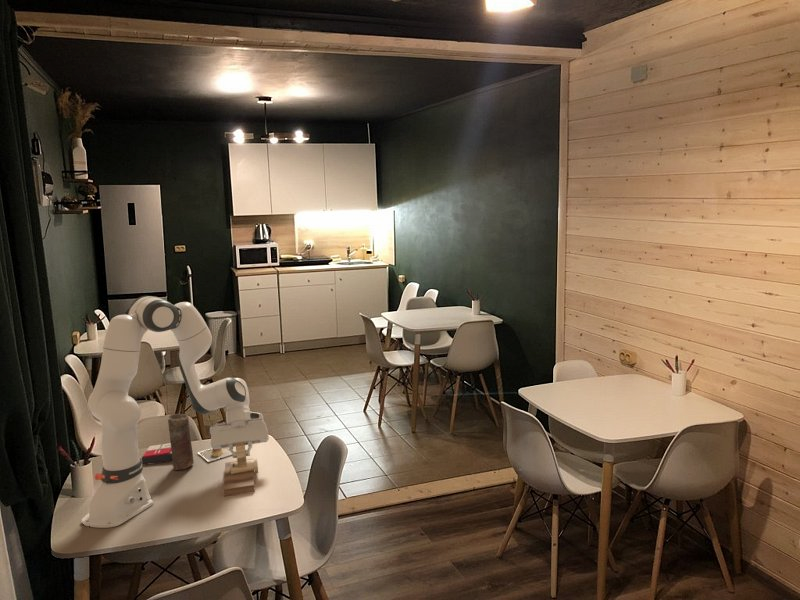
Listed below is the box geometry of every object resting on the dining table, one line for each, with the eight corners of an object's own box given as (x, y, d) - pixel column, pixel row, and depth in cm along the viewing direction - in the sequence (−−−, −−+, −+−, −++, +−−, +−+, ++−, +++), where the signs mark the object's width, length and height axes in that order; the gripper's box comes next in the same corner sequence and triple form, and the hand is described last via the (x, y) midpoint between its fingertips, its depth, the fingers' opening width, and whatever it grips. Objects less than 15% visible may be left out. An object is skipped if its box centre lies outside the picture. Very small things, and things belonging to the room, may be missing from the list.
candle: (184, 461, 241) (177, 411, 238) (198, 463, 238) (192, 413, 234) (169, 469, 235) (162, 418, 231) (183, 472, 231) (177, 421, 228)
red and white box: (148, 445, 250) (187, 439, 252) (150, 455, 251) (188, 449, 253) (140, 456, 240) (180, 450, 241) (142, 467, 241) (182, 461, 242)
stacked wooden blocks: (258, 472, 225) (255, 446, 222) (231, 476, 223) (228, 450, 220) (257, 464, 230) (254, 438, 228) (231, 468, 228) (228, 442, 226)
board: (254, 491, 213) (253, 484, 213) (224, 496, 211) (223, 489, 211) (253, 464, 234) (253, 458, 234) (226, 469, 232) (225, 462, 232)
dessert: (197, 455, 248) (195, 443, 247) (226, 446, 255) (224, 434, 254) (208, 464, 238) (206, 452, 237) (238, 455, 245) (236, 443, 244)
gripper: (208, 421, 226) (209, 457, 219) (266, 413, 231) (269, 448, 223) (210, 428, 231) (212, 464, 224) (267, 420, 236) (270, 455, 228)
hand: (241, 456), depth 224 cm, fingers closed on stacked wooden blocks, 3 cm apart
